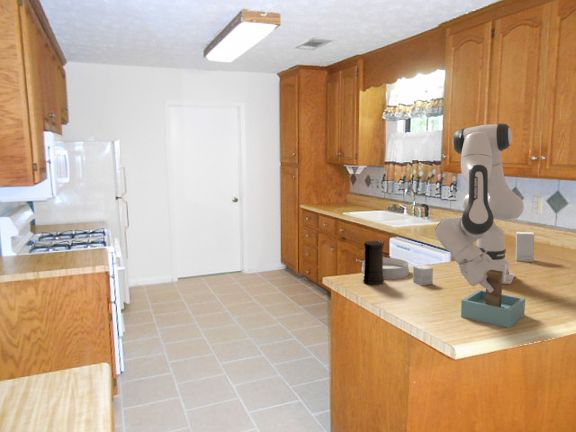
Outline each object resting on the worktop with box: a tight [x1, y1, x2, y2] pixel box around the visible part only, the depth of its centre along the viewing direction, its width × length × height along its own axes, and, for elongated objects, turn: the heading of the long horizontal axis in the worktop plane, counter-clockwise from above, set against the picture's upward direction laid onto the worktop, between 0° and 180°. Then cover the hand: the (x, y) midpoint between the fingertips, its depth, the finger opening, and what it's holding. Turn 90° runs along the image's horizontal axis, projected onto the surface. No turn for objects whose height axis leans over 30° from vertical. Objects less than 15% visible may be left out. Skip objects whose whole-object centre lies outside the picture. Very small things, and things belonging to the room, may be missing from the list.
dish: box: [361, 257, 410, 280], centre depth 218 cm, size 22×22×5 cm
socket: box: [460, 289, 526, 329], centre depth 159 cm, size 16×16×6 cm
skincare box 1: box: [412, 264, 434, 287], centre depth 200 cm, size 6×6×7 cm
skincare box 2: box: [515, 231, 535, 263], centre depth 236 cm, size 8×6×15 cm
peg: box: [485, 270, 503, 307], centre depth 159 cm, size 4×4×16 cm
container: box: [362, 240, 385, 286], centre depth 201 cm, size 9×9×18 cm
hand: (496, 289), depth 158 cm, fingers open, 5 cm apart
